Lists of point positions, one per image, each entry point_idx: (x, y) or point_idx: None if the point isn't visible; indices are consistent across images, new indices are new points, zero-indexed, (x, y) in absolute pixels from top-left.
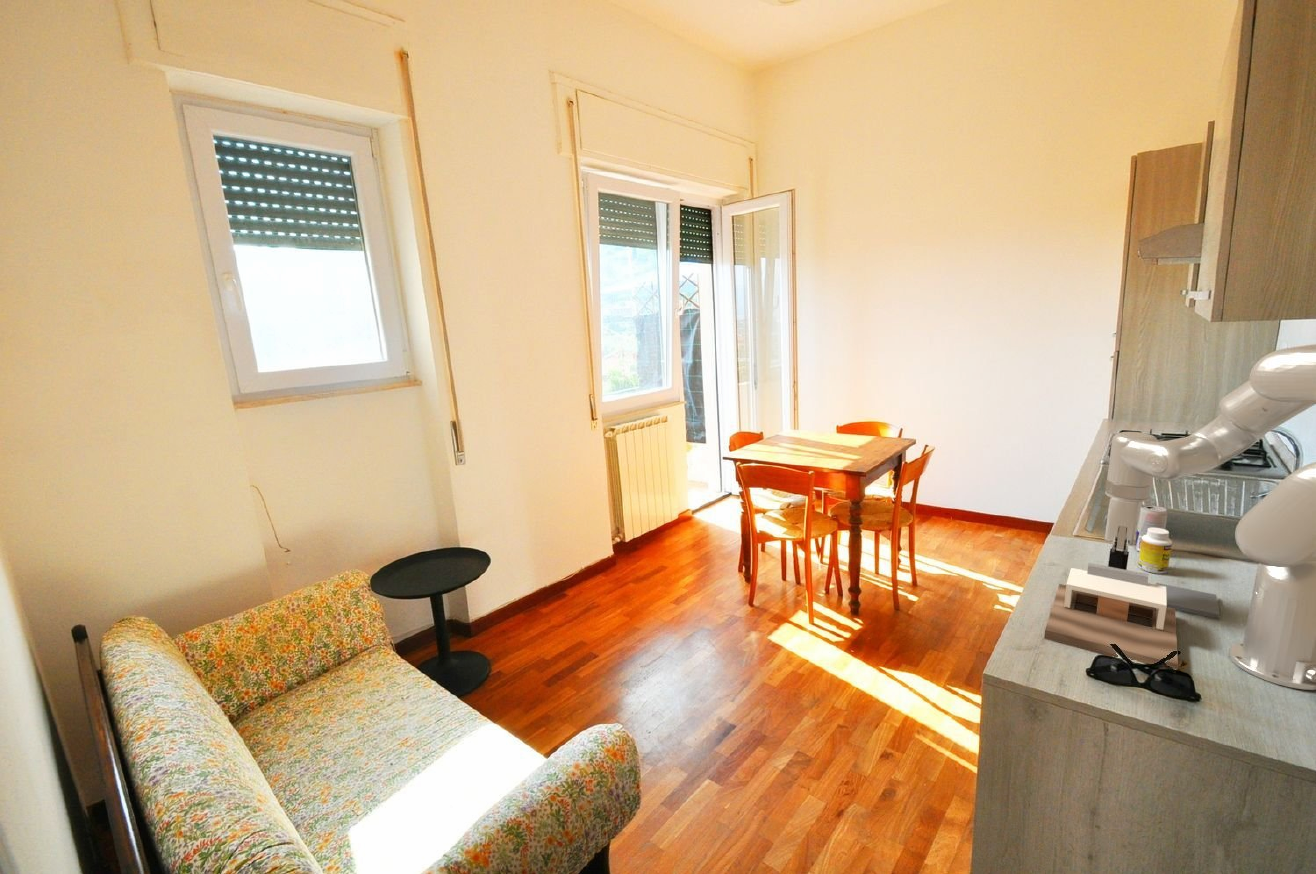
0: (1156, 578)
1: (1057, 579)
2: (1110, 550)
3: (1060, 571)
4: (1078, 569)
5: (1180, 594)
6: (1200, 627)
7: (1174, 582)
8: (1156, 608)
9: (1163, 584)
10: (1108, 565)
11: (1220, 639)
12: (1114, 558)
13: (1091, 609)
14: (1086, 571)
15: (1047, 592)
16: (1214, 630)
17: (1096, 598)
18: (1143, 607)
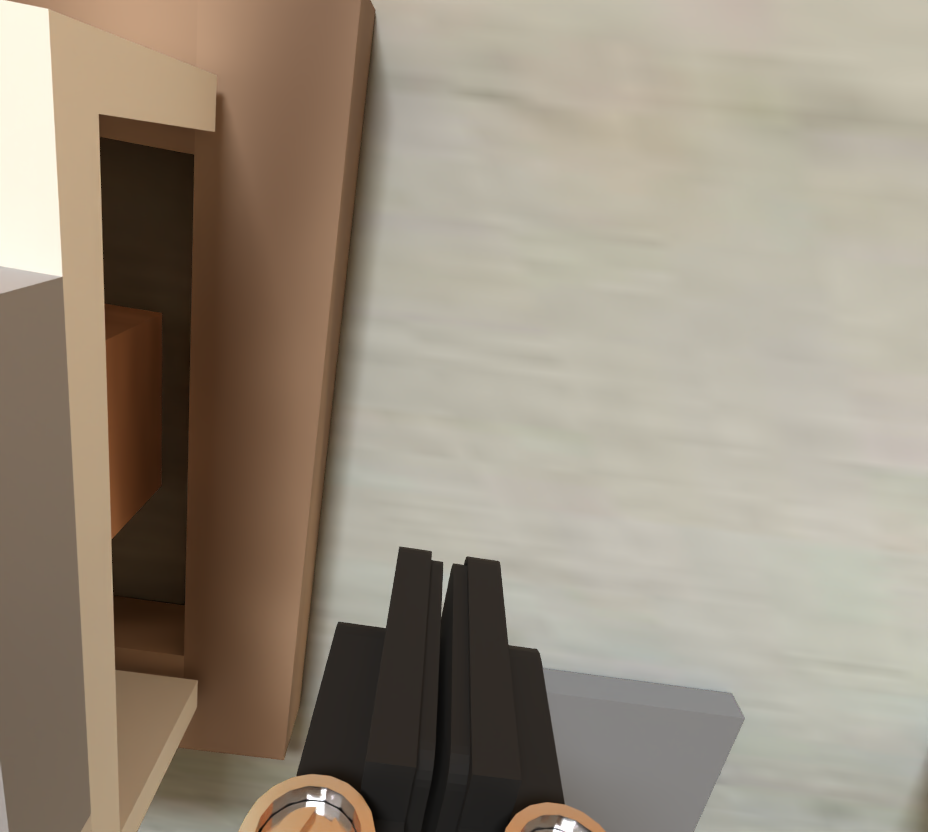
0: (871, 714)
1: (683, 25)
2: (399, 768)
3: (896, 75)
4: (48, 136)
5: (595, 795)
6: (239, 786)
7: (827, 780)
8: (179, 684)
9: (727, 746)
10: (400, 557)
11: (144, 829)
12: (315, 714)
13: (139, 268)
14: (35, 255)
15: None
16: (239, 826)
17: (192, 323)
18: (198, 612)
